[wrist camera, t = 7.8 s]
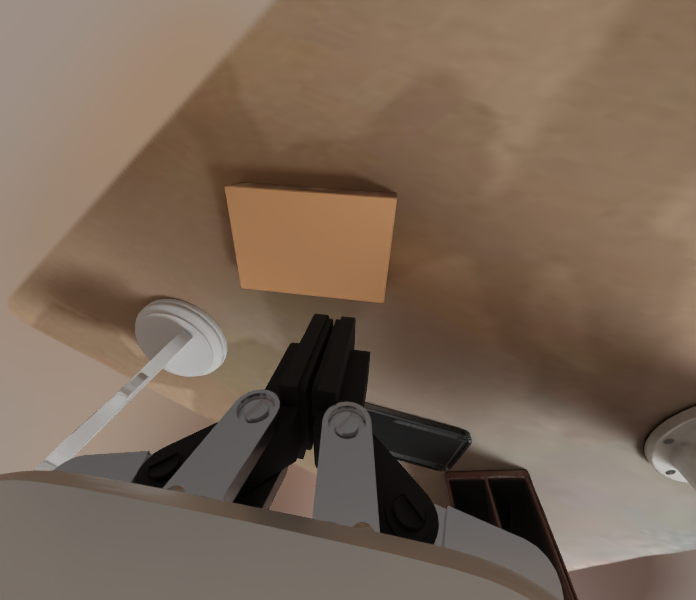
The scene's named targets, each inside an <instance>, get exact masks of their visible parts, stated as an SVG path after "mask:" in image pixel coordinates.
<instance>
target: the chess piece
mask: <svg viewBox="0 0 696 600" xmlns="http://www.w3.org/2000/svg"><path fill="white" fill-rule="evenodd" d="M135 336H136V340H137V343H138V345H139V347H140V348H141V350H142V351H143V353H144V354H145V355H146V356H147V357H148V358H149V359H150V360H151V361H150V362H148V363H147V364H146V365H145V366H144V367H143V368H142V369H141V370H140V371H139V372H138V373H137V374H136V375H135V376H134V377H133V378H132V379H131V380H130V381H129V382H128V383H127V384H126V385H125V386H124V387H123V388H122V389H121V390H120V391H119V392H118V393H116V394H115V395H114V396H113V397H112V398H111V399H110V400H109V401H107V402H106V403H105V404H104V405H103V406H102V407H101V408H100V409H99V410H98V411H96V412H95V413H94V414H93V415H92V416H91V417H90V418H89V419H87V420H86V421H85V422H84V423H83V424H82V425H81V426H80V427H78V428H77V429H76V430H75V431H74V432H73V433H72V434H70V436H68V437H67V438H66V439H65V440H64V441H63V442H62V443H61V444H60V445H59V446H58V447H57V448H56V449H55V450H54V451H53V452H52V453H51V454H50V455H49V456H48V457H47V458H46V459H45V460H44V461H43V462H42V463H41V464H40V465H39V466H38V467H37V468H35V469H34V470H39V471H53V470H54V469H55V468H57V467H58V466H60V465H61V464H62V463H64V462H66V461H68V460H70V459H72V458H73V457H74V456H75V454H77V453H78V452H79V451H80V450H81V449H82V448H83V447H84V446H85V445H86V444H87V443H88V442H89V441H90V440H91V439H92V438H93V437H94V436H95V435H96V434H97V433H98V432H99V431H100V430H101V429H102V428H103V427H104V426H105V425H106V424H107V423H108V422H109V421H110V420H111V419H112V418H113V417H114V416H115V415H116V414H117V413H118V412H119V411H120V410H121V409H122V408H123V407H124V406H125V405H126V404H127V403H128V402H129V401H130V400H131V399H132V398H133V397H134V396H135V395H136V394H137V393H138V392H139V391H140V390H141V389H142V388H143V387H144V386H145V385H146V384H147V383H148V382H149V381H150V380H151V379H152V378H153V377H154V376H155V375H156V374H157V373H158V372H159V371H160V370H161V369H164V370H166V371H168V372H171V373H173V374H176V375H180V376H187V377H192V376H201V375H206V374H209V373H211V372H213V371H214V370H215V369H217V368H218V367H219V366H220V365H221V364H222V363H223V362H224V360H225V358H226V355H227V341H226V338H225V336H224V334H223V332H222V330H221V328H220V327H219V326H218V324H217V323H216V322H215V321H214V320H213V319H212V318H211V317H210V316H209V315H208V314H207V313H205V312H204V311H202V310H201V309H199V308H198V307H196V306H194V305H192V304H190V303H187V302H184V301H181V300H176V299H159V300H156V301H153V302H151V303H150V304H148V305H146V306H145V307H144V308H143V309H142V310H141V312H140V313H139V314H138V316H137V318H136V322H135ZM34 470H33V471H34Z"/></svg>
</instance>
